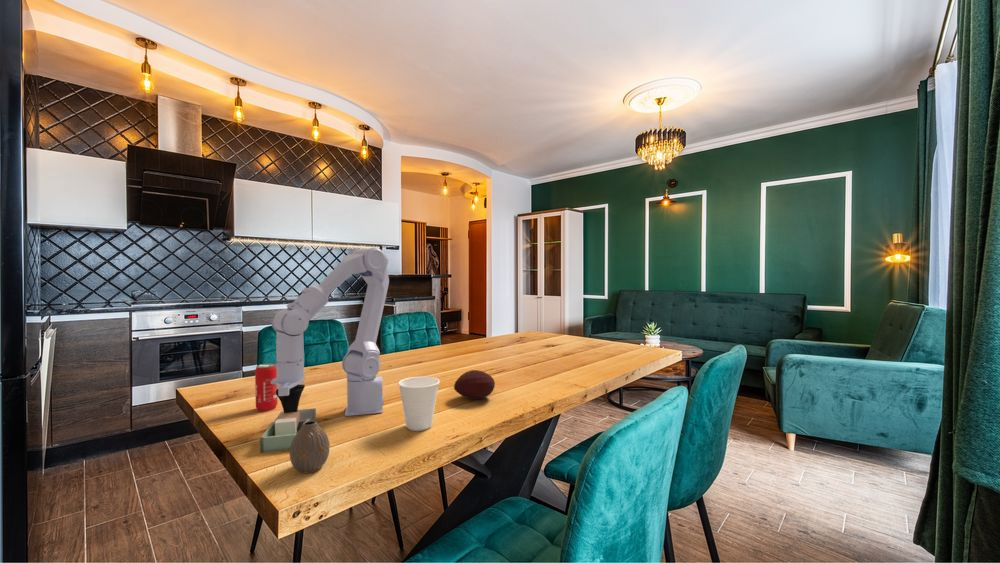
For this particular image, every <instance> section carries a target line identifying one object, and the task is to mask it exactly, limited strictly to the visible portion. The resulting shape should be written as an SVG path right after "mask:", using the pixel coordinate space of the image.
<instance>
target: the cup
mask: <svg viewBox="0 0 1000 563" xmlns="http://www.w3.org/2000/svg"><path fill="white" fill-rule="evenodd" d="M397 384H398V386H399V391H400V397H401V402H402V407H403V409H402V410H403V413H404V420H405V426H406V428H407V429H408V430H409V431H415V432H420V431H426V430H429V428H431V427H432V426H433V420H434V416H435V414H434V413H435V407H436V402H437V395H438V390H439V384H440V379H439V378H437V377H432V376H413V377H407V378H403V379H401V380H399V381H398V383H397Z"/></svg>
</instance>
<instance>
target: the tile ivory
mask: <svg viewBox="0 0 1000 563" xmlns="http://www.w3.org/2000/svg"><path fill="white" fill-rule="evenodd" d="M289 434H297V419H296V418H286V419H277V420H276V422H275V436H279V435H289Z"/></svg>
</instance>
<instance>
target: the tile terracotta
mask: <svg viewBox="0 0 1000 563" xmlns="http://www.w3.org/2000/svg"><path fill="white" fill-rule="evenodd" d="M286 418H296V419H297V427H298V424H299V421H300V412H292V413H281V415H280V417H279V419H286Z"/></svg>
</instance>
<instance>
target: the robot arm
mask: <svg viewBox="0 0 1000 563" xmlns="http://www.w3.org/2000/svg"><path fill="white" fill-rule="evenodd" d="M388 264H389V259H388V257H387V255H386V254H385V253H384V251H383V250H382V249H380V248H378V247H370V248H355V249H353V250H351V251H350V252H349V253H348V254H347V255H345V256H344V257H343V258H342V260H341V261H340V263H338V264H337V266H335V267H334V269H333V270H332V271H330V273H329V274H328V275H327V276H326V277H325V278H324V279H323V280H322V281H321V282H320V283H319V284H318V285H311V286H309V287H304V288H303V289H302V290H301V294H300V295H299V296H298V297H296V299H295V300H294V301H293V302H289V303H287V305H286V308H287V309H286V308H285V309H281V310H280V311H278V312H277V313H276V314H275V315H274V318H273V321H271V326H272V329H273V330H274V331H275V332H276V344H275V345H276V346H275V347H276V351H275V352H276V367H277V379H273V380H272V381H271V384H276V385H277V390H276V395H277V399H278V400H279V401H280V404H281V406H282V407H281V408H282V410H283V411H284V413H292V412H297V410H299V405H300V400H301V396H302V393H303V391H304V389H305V386H306V385H305V384H303V383H304V382H305V381H306V377H305V366H304V365H305V359H304V358H305V356H304V355H305V352H304V351H305V350H304V348H305V347H304V346H305V344H304V343H305V342H304V341H305V340H304V332H305V331H307V330H308V327H309V324H310V322H309V321H311V320H312V319H313V318H314V317H315V316H316V314H318V313H319V312H320V311H321V309H322V308H324V307H325V306H326V305H327V304H329V303H328V302H329V297H330V296H329V295H331V293H333V292H334V290H335V291H336V289H337V288H338V287H339V286H341V285H342V284H343V283H344V282H345V281H346V280H347V279H348V278H349V277H350V276H353V275H357V274H358V275H360V277H362V280H364V281H365V283H366V284H367V286H366V292H365V295H364V296H365V297H364V301H363V304H362V308H361V313H360V318H359V322H358V327H357V331H356V335H355V340H354V341H353V342H352V343H351V344H350V345H349V346H348V349H347V353H346V354H345V355H344V357H343V358H342V362H341V367H342V370H343V371H344V372H345V373H346V406H345V411H344V417H350V416H361V415H373V414H382V413H383V408H384V407H383V406H384V404H385V401H384V400H385V397H384V396H383V376H377V375H378V374H379V372H380V369H381V362H380V355H381V354H380V353H381V352H380V348H378V345H377V340H378V337H379V336H378V335H379V330H380V326H381V322H382V321H381V320H382V317H383V312H384V307H385V303H386V300H387V294H388V289H389V284H390V277H389V271H388Z"/></svg>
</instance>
